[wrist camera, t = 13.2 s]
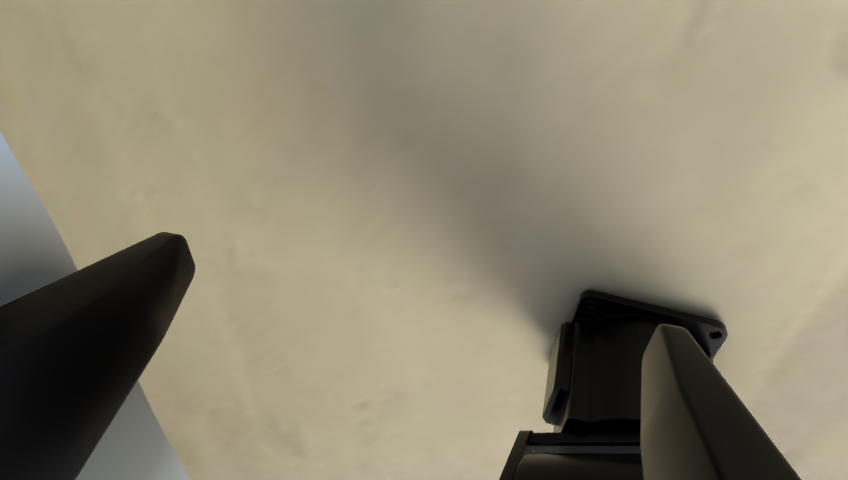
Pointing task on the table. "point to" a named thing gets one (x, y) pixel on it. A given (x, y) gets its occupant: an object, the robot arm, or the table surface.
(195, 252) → the table surface
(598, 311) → the robot arm
